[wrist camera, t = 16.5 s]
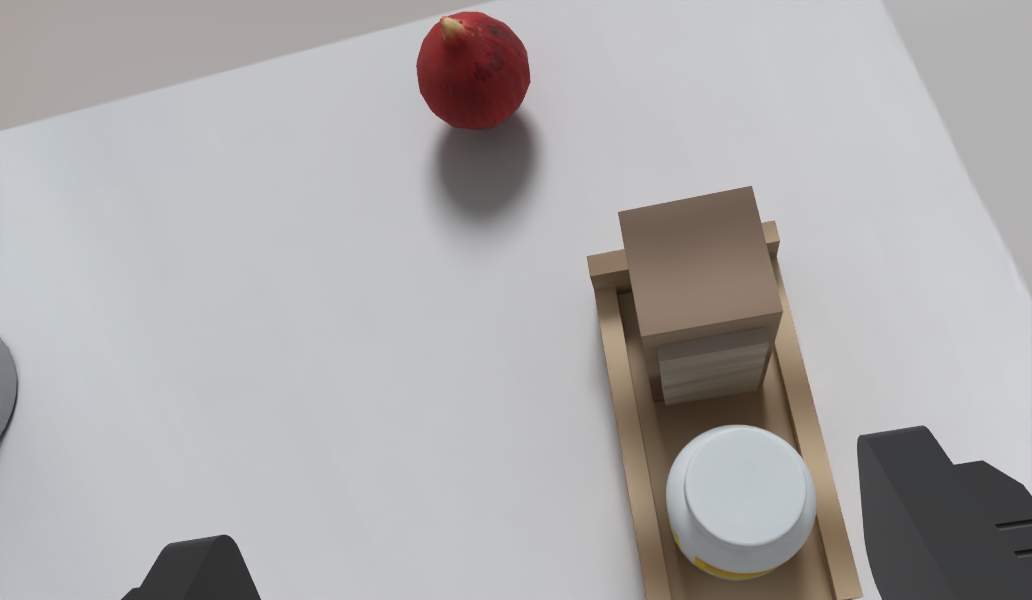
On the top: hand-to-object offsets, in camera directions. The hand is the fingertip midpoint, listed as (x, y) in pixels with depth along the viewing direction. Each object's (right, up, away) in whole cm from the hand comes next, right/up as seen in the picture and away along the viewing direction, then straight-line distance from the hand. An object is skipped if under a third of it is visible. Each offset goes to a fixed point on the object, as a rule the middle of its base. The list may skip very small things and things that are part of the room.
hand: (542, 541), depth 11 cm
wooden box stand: (+9, -3, +30) cm, 32 cm away
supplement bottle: (+9, -6, +28) cm, 30 cm away
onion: (-2, +14, +39) cm, 41 cm away
